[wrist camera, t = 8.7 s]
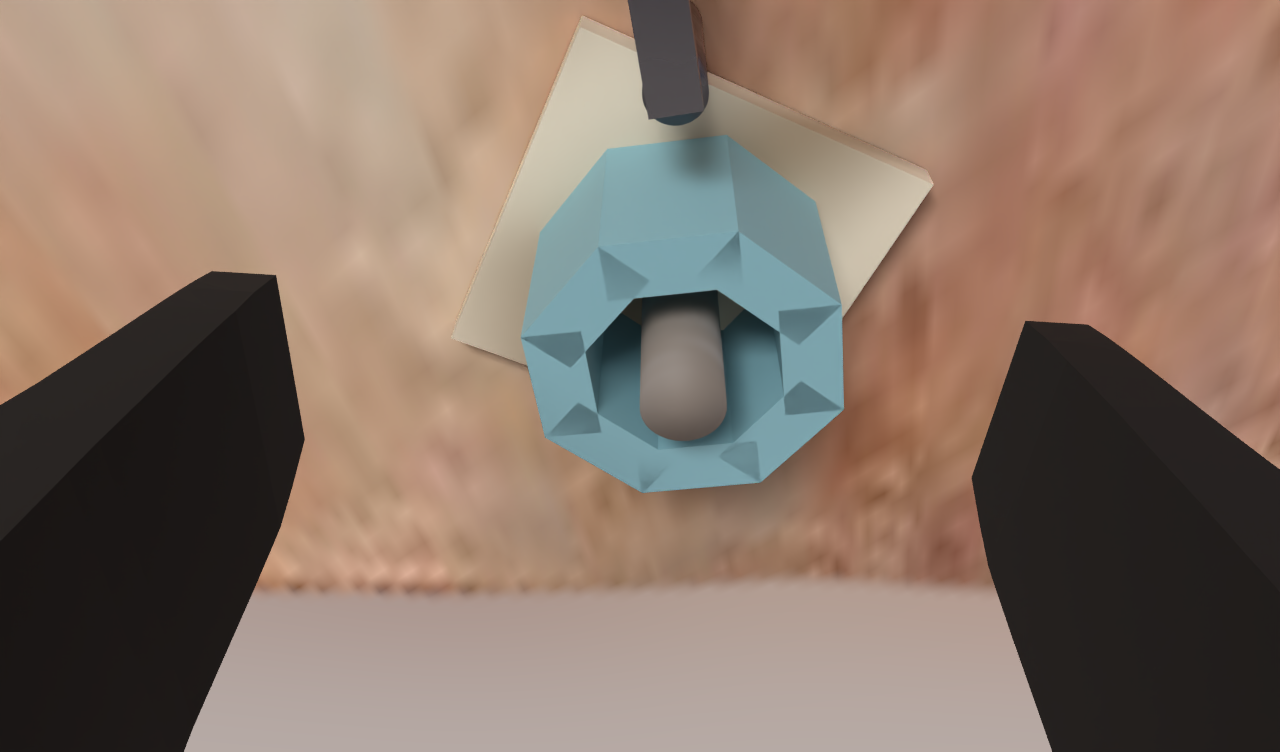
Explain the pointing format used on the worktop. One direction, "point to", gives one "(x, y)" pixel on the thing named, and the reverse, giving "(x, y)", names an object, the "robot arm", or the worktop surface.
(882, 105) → the worktop surface
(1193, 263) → the worktop surface
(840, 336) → the ring
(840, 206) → the peg stand
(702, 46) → the handle
